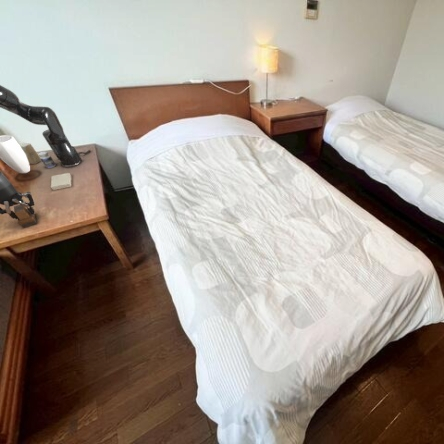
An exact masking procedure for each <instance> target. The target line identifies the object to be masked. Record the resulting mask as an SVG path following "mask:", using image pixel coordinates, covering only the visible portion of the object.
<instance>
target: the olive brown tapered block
mask: <svg viewBox="0 0 444 444" xmlns="http://www.w3.org/2000/svg"><path fill="white" fill-rule="evenodd" d="M18 144H19V143H18ZM19 145H20V146H21V148H22V150H23V151H24V153H25V154H26V157H27V159H28V161H29V165H30V164H31V165H36V164H38V163H40V162H42V161H41V159H40V156H39V155H38V153H37V151H36V149H35V148H34V146H33V144H32V143H31V142H22V143H20V144H19Z"/></svg>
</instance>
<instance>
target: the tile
mask: <svg viewBox="0 0 444 444" xmlns="http://www.w3.org/2000/svg"><path fill="white" fill-rule="evenodd" d="M50 180H51V181H50V188H51V189H52V191H56V190H61V189H65V188H70V187H71V188H72V175H71V173H70V172H67V173H60V174H55V175H51V179H50Z"/></svg>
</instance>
